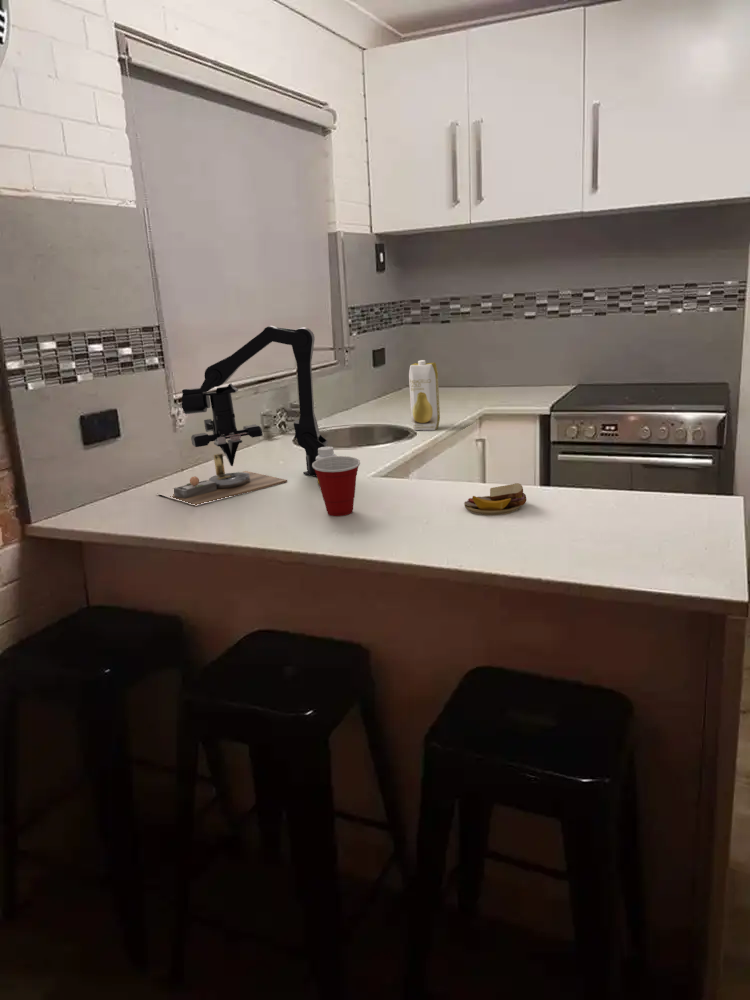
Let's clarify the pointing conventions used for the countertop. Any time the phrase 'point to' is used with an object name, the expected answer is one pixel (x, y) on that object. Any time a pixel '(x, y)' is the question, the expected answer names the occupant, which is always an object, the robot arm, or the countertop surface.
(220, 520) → the countertop surface
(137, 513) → the countertop surface
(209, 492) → the wooden base board
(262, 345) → the robot arm
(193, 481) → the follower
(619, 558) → the countertop surface
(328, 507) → the plastic cup
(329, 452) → the supplement bottle
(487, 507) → the toy sandwich meal
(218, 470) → the wheel
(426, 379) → the juice carton
